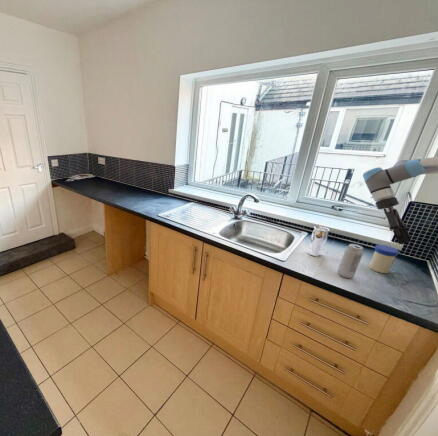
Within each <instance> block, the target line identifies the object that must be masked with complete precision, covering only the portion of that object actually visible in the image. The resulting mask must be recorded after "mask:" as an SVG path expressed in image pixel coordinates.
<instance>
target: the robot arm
mask: <svg viewBox="0 0 438 436" xmlns="http://www.w3.org/2000/svg"><path fill="white" fill-rule="evenodd" d="M432 174H438V156H434V157H425V158H414V159H403V160H402V159H401V160H399V161H397V162H396V163H394V165H393V166H390V167H388V168H385V169H383V168H382V167H373V168H371V169H368V170H366V171H364V172H363V174H362V177H363V180H364V183H365V185H366V186H367V189H368V191H369V193H370V199H373V202H375V203H374V204H375V206H376V208H377V210H383V212H384V215H385V217H386V219H387V222H388V224H389V230H390V231H392V233H393V235H394V236H395V239H396V240H397V243H398V244H399V245H402V244H407V243H411V242H412V241H413V240H412V238H411V236H410V234H409V232H408V231H407V228H408V226H407V225H405V223H404V222H403V220H402V219H401V216H400V214H399V211H398V209H397V208H394V207H396V206H398V205H399V204H400V202H399V200H398V198H397V197H396V194H395V192H394V190H393V188H392V187H391V185H393V184H396V183H400V182H403V181H406V180H409V179H412V178H416V177H418V176H421V175H432Z"/></svg>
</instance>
